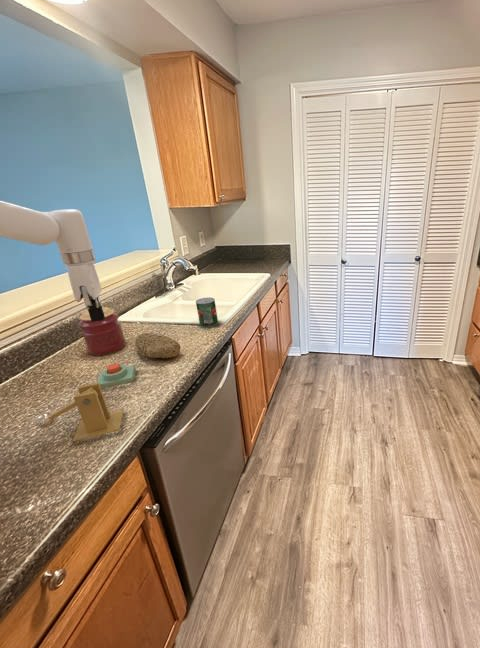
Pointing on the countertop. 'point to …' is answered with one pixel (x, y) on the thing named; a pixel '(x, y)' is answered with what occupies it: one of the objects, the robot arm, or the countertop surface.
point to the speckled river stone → (157, 346)
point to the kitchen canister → (102, 333)
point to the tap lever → (56, 413)
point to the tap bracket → (95, 413)
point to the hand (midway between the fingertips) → (98, 319)
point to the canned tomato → (207, 312)
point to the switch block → (117, 376)
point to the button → (113, 368)
